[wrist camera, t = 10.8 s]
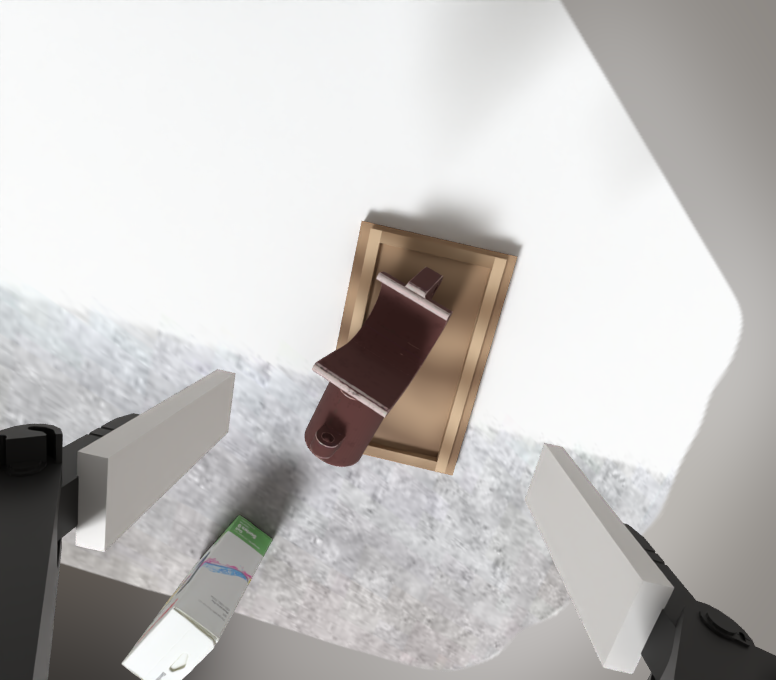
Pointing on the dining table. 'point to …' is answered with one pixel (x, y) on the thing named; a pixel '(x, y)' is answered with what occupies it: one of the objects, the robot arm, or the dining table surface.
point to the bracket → (375, 367)
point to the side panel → (452, 349)
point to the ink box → (200, 606)
